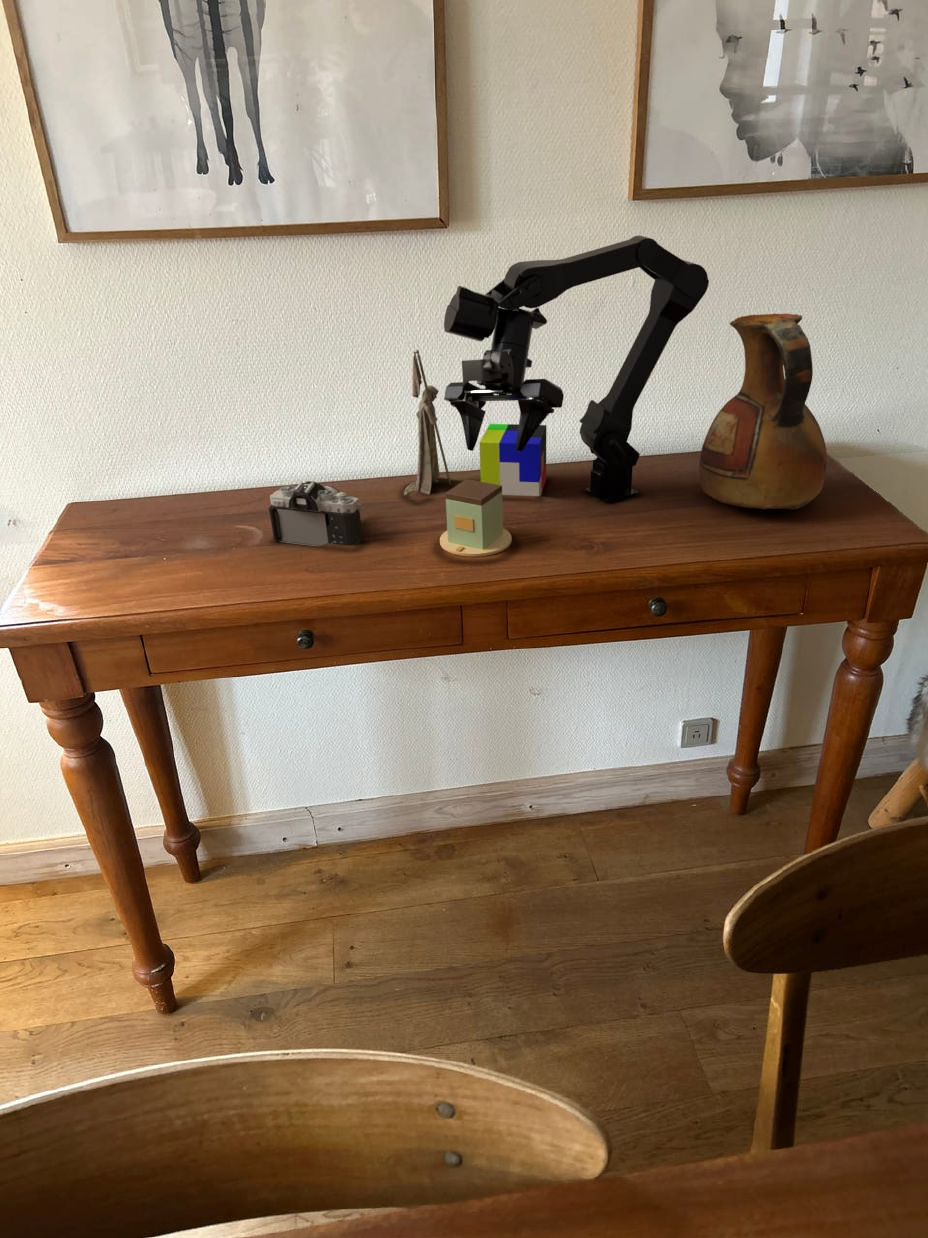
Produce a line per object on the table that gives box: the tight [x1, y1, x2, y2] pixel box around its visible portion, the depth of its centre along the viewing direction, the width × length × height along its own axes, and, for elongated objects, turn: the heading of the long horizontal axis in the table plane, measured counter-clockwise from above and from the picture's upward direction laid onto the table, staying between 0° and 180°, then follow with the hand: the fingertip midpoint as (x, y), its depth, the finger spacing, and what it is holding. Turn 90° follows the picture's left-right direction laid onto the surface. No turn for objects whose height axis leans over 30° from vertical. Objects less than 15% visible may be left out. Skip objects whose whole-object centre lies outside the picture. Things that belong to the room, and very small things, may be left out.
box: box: [439, 478, 513, 558], centre depth 135 cm, size 11×11×8 cm
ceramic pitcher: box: [698, 313, 828, 510], centre depth 141 cm, size 20×20×30 cm
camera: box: [268, 480, 364, 548], centre depth 140 cm, size 16×9×10 cm, turn 71°
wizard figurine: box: [403, 349, 452, 496], centre depth 152 cm, size 10×8×25 cm
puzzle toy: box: [479, 423, 547, 497], centre depth 155 cm, size 10×10×10 cm
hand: (493, 450), depth 136 cm, fingers open, 9 cm apart
